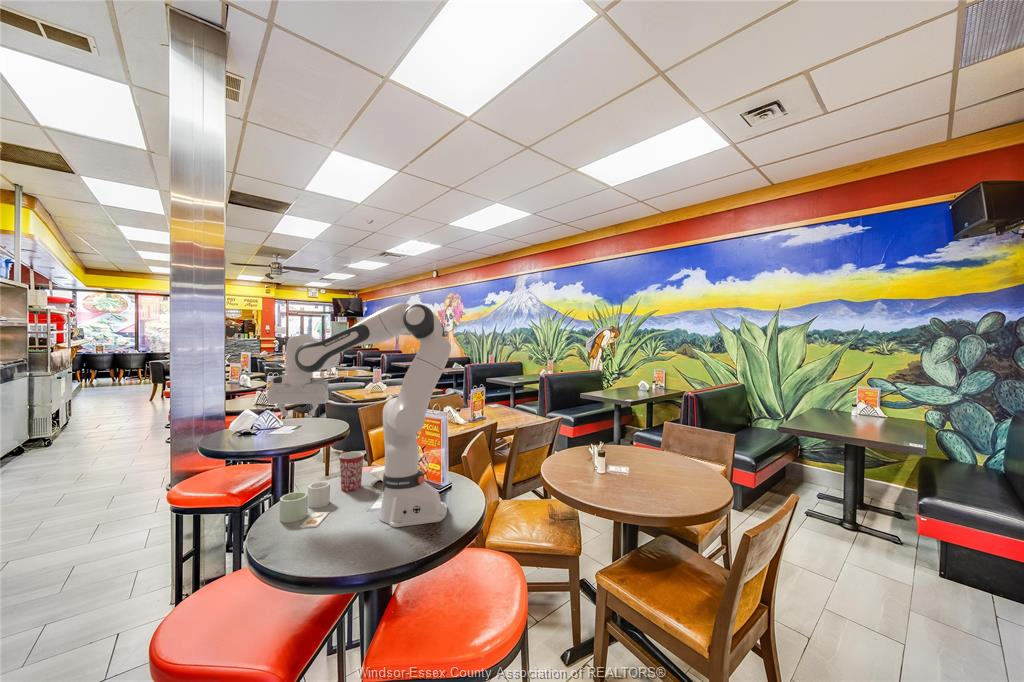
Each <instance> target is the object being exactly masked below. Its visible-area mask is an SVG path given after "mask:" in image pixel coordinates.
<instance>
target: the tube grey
mask: <svg viewBox="0 0 1024 682" xmlns="http://www.w3.org/2000/svg"><path fill="white" fill-rule="evenodd" d="M307 494H308V508H311V509H319V508H324V507H326V506H328V505H329V504H330V502H331V501H330V500H331V483H330V481H317V482H313V483H310V484H309V485H308V487H307Z"/></svg>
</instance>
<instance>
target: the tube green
mask: <svg viewBox="0 0 1024 682" xmlns="http://www.w3.org/2000/svg"><path fill="white" fill-rule="evenodd" d="M308 508H309V507H308V492H306V491H294V492H289V493H287V494H283V495H282V496H281V497H280V498H279V522H281V523H288V524H289V523H294V522H299V521H301V520H303V519H305V518H306V517H307V516H308Z"/></svg>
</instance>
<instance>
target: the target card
mask: <svg viewBox="0 0 1024 682" xmlns="http://www.w3.org/2000/svg"><path fill="white" fill-rule="evenodd" d="M329 514H330V512H329V511H320V512H319V511H318V512H315V511H314V512H312V514H311V515H310V516H309V517H307V518H306V519H305V521H304V522H303V523H302V524H301V525H299V529H303V528H304V529H307V528H309V529H310V528H317V527H318V526H319V525H320V524H321V523H322V522H323V520H324V519H325V518H326V517H327V516H328V515H329Z"/></svg>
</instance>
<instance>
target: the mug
mask: <svg viewBox="0 0 1024 682" xmlns="http://www.w3.org/2000/svg"><path fill="white" fill-rule="evenodd" d="M364 455H365V454H364V452H362V451H348V452H344V453H341V454H340V455H339V457H338V459H339V468H340V469H339V471H340V490H341V491H342V492H345V493H350V492H351V493H352V492H355V491H358V490H360V489H361V487H362V476H363V463H364Z"/></svg>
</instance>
